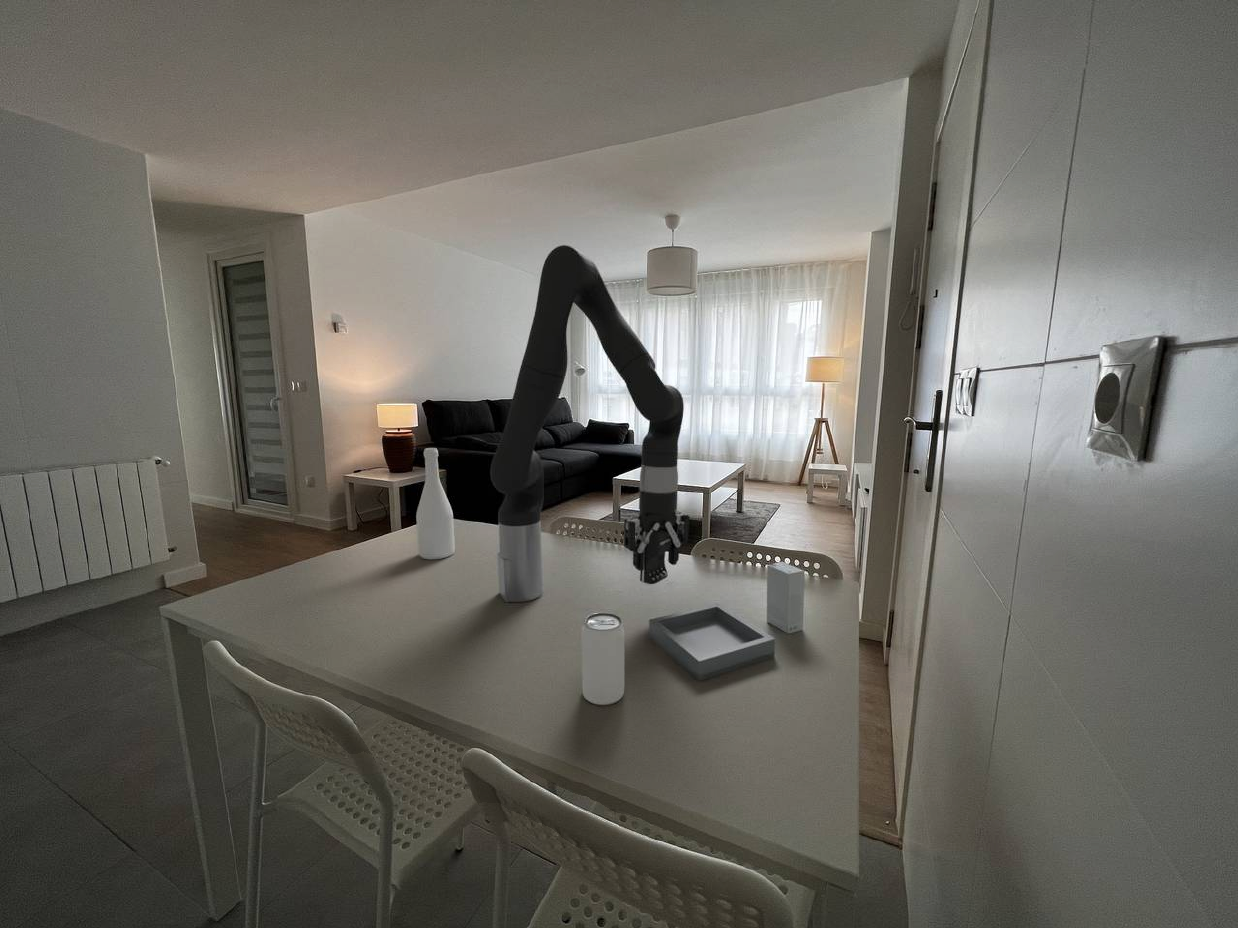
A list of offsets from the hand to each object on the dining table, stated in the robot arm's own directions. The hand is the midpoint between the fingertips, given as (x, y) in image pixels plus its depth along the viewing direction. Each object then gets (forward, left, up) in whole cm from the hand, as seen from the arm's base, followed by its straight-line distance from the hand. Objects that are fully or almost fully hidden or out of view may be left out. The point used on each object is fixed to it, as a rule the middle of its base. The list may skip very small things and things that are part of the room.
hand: (655, 566), depth 101 cm
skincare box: (+20, -15, -11) cm, 28 cm away
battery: (0, 0, -3) cm, 3 cm away
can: (-21, -19, -11) cm, 30 cm away
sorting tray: (+2, -15, -11) cm, 19 cm away
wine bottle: (-36, +60, -11) cm, 70 cm away
